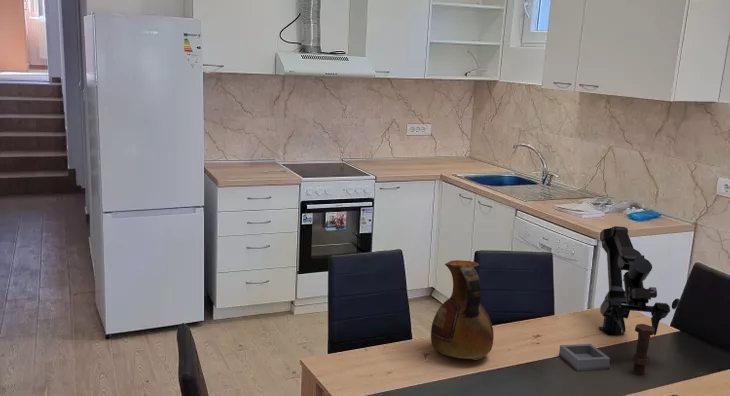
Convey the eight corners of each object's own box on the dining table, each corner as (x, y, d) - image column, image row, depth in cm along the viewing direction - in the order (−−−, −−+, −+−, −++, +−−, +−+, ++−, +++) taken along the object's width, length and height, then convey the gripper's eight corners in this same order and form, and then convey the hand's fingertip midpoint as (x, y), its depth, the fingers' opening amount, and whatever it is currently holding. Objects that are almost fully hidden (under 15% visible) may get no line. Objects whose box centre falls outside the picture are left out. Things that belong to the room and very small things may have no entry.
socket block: (558, 355, 210) (560, 345, 210) (589, 353, 213) (590, 343, 212) (577, 370, 200) (578, 360, 199) (608, 369, 202) (610, 358, 202)
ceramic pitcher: (473, 338, 220) (481, 253, 214) (503, 364, 201) (513, 271, 195) (419, 343, 214) (426, 255, 208) (446, 370, 195) (454, 274, 189)
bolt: (645, 370, 203) (652, 324, 200) (650, 377, 198) (658, 331, 195) (626, 368, 204) (632, 323, 201) (631, 375, 199) (638, 329, 196)
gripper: (611, 273, 206) (615, 319, 197) (672, 279, 204) (680, 325, 195) (602, 289, 215) (606, 334, 206) (660, 295, 213) (667, 340, 204)
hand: (639, 333), depth 203 cm, fingers open, 9 cm apart
